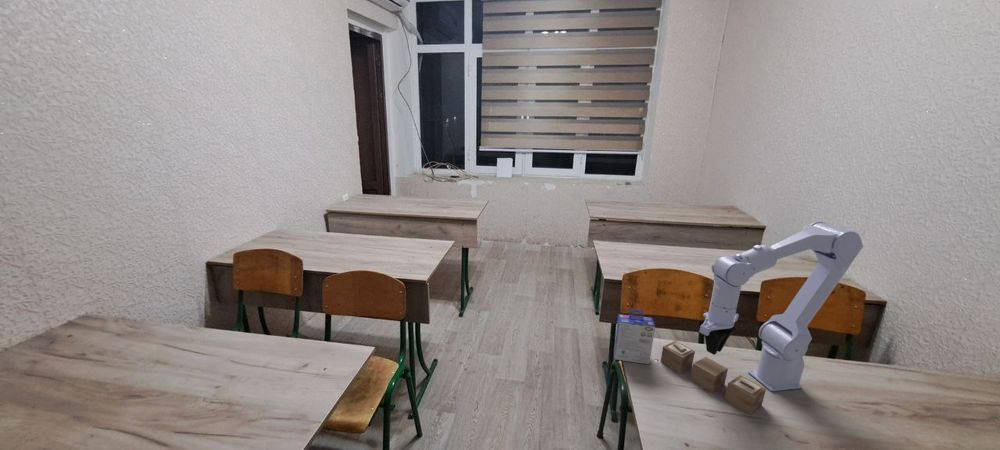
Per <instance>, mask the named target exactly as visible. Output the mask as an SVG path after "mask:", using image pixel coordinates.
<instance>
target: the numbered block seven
mask: <svg viewBox="0 0 1000 450" xmlns="http://www.w3.org/2000/svg"><path fill="white" fill-rule="evenodd" d="M695 354H696V350H694V349H692V348H690V347H688V346H687V345H684V344H683V343H680V342H679V341H677V340H674V341H672V342H670V343H668V344H665V345H664V346H662V351H661V358H660V363H662V364H664V365H666V366H667V367H669V368H671V369H673V370H674V371H676V372H677V373H679V374H681V373H682V372H684V371H686V370H688V369H690V368H691V367H693V363H694V358H695Z"/></svg>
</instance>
